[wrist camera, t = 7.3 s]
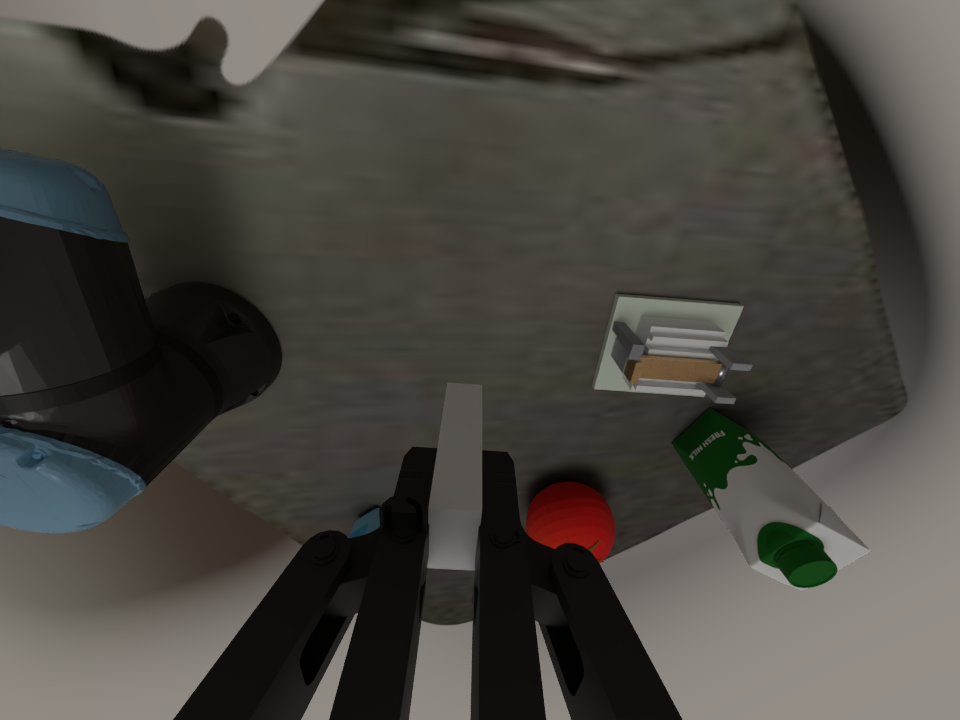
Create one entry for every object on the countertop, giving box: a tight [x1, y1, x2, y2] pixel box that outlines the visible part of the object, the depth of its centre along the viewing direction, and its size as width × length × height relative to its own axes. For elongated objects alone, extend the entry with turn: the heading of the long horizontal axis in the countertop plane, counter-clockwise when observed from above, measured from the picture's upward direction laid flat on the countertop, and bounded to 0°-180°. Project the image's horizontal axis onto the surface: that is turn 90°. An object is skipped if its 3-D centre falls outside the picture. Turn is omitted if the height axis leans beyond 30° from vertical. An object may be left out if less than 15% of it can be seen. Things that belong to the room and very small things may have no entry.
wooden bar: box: [624, 355, 729, 387], centre depth 39 cm, size 11×3×2 cm, turn 85°
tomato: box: [526, 481, 615, 563], centre depth 52 cm, size 11×12×10 cm
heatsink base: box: [592, 294, 753, 404], centre depth 41 cm, size 14×12×8 cm
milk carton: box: [672, 408, 871, 591], centre depth 42 cm, size 9×9×20 cm
